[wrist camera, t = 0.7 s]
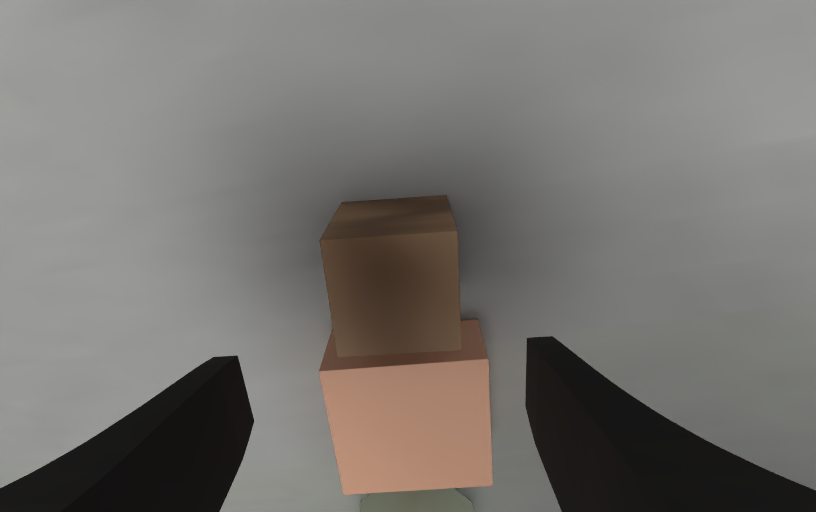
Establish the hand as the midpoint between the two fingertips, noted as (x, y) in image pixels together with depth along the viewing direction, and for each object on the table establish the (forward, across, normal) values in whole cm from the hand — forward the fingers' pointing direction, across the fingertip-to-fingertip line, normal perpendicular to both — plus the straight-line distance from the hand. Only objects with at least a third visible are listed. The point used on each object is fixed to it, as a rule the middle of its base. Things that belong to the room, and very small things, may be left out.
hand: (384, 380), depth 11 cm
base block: (+10, 0, +7) cm, 12 cm away
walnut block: (+10, 0, 0) cm, 10 cm away
